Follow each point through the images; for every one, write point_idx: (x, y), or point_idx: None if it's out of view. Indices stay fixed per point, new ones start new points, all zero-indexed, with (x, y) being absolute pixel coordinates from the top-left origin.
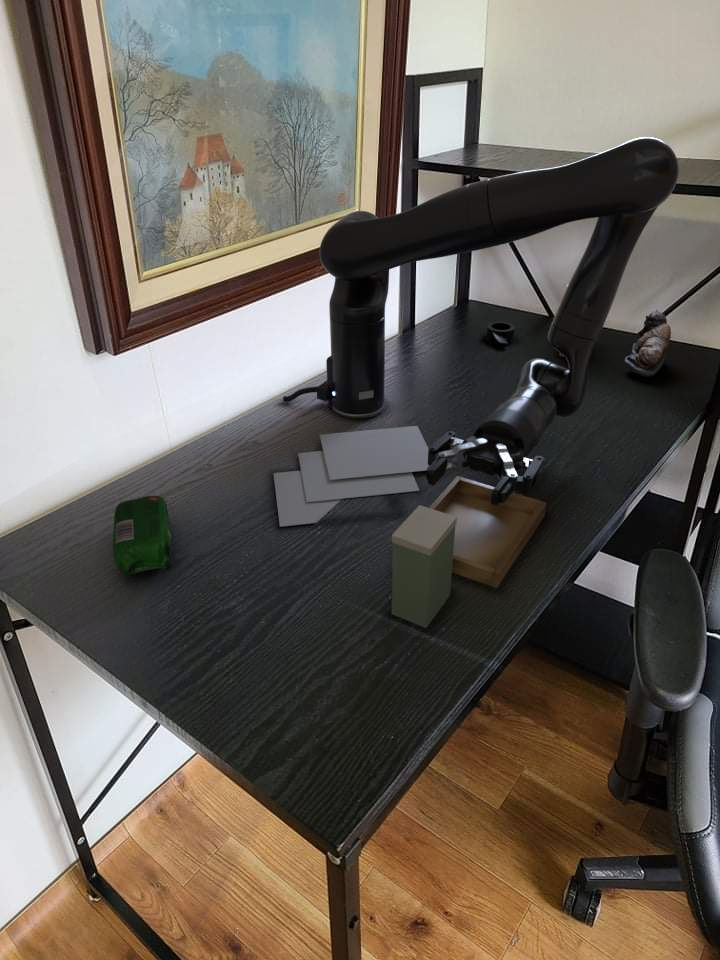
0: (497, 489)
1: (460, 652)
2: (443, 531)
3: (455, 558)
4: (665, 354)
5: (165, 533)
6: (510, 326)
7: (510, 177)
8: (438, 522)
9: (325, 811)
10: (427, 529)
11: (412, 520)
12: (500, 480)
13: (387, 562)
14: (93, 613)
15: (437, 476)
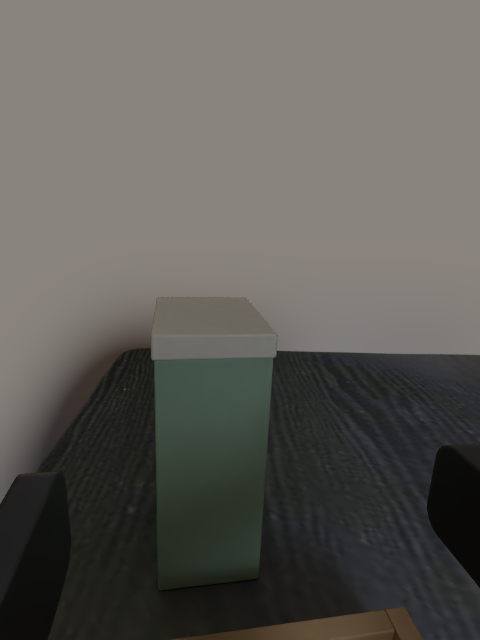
0: (28, 481)
1: (80, 486)
2: (157, 313)
3: (193, 637)
4: None
5: None
6: None
7: None
8: (186, 320)
9: (145, 352)
10: (195, 309)
11: (245, 314)
12: (10, 579)
13: (381, 602)
14: (472, 366)
15: (469, 532)
